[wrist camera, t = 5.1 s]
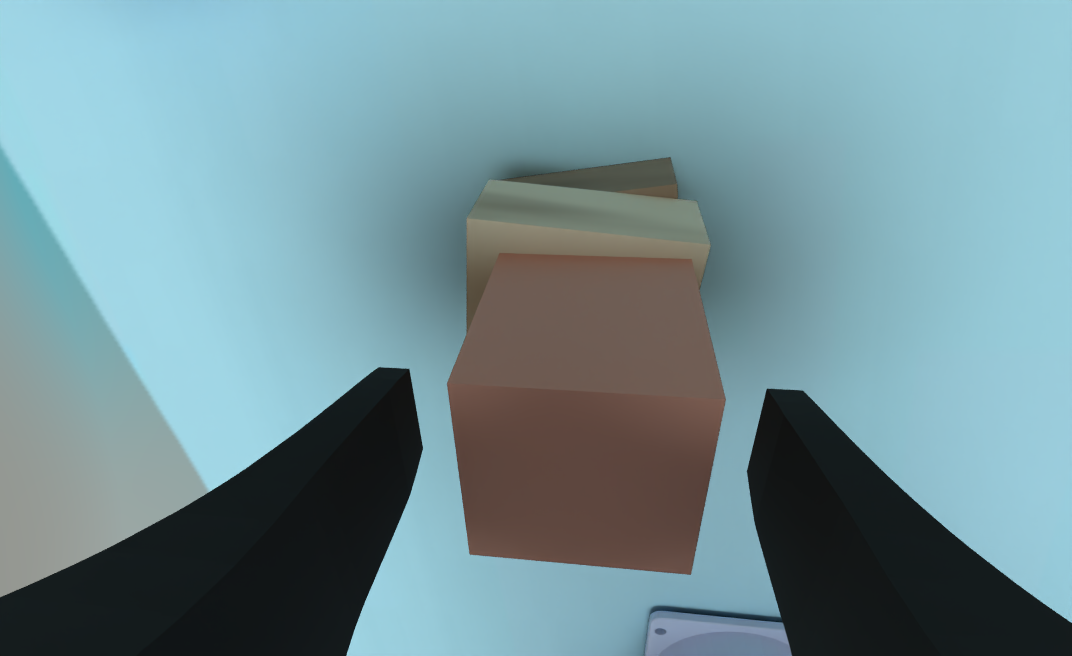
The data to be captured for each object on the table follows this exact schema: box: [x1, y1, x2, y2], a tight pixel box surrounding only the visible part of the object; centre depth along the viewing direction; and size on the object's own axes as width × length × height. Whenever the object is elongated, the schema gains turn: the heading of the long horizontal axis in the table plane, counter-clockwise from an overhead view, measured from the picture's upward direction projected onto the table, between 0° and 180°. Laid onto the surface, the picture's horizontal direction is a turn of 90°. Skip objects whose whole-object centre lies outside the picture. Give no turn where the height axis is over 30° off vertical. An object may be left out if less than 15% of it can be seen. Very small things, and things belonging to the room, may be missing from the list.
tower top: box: [467, 179, 711, 333], centre depth 14 cm, size 5×5×2 cm
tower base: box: [501, 157, 678, 199], centre depth 16 cm, size 5×5×2 cm
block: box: [447, 253, 726, 575], centre depth 11 cm, size 4×4×4 cm
